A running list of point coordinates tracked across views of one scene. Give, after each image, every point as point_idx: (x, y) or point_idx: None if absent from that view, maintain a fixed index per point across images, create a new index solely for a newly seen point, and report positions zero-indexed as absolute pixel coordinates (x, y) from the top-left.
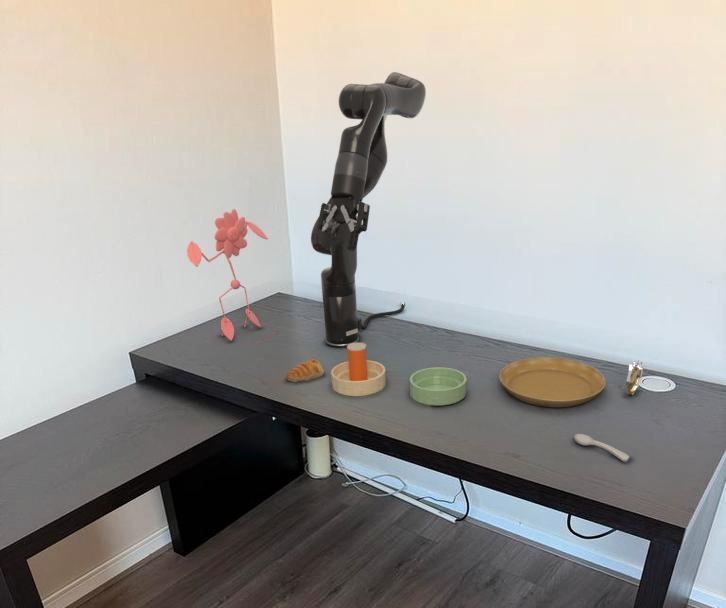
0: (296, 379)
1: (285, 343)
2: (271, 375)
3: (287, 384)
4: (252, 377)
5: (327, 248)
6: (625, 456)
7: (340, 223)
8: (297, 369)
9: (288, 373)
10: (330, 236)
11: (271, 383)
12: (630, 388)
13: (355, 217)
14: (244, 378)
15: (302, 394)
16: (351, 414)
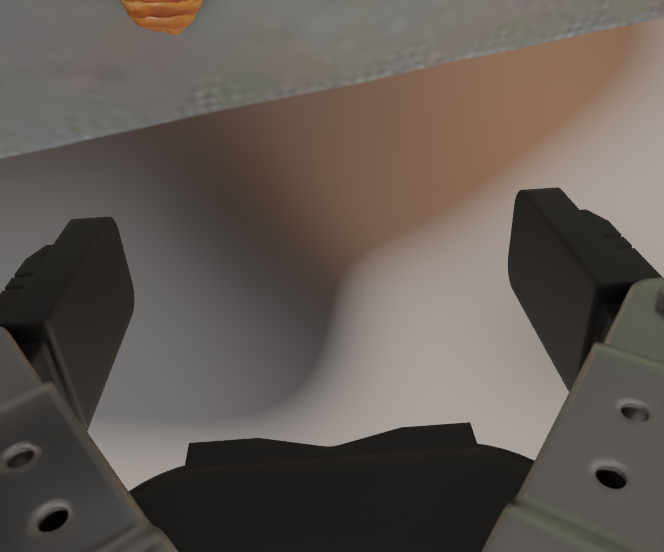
0: (195, 14)
1: None
2: (47, 24)
3: None
4: (24, 79)
5: (120, 252)
6: None
7: (218, 465)
8: (165, 6)
9: (148, 27)
10: (67, 324)
11: (122, 59)
12: None
13: (655, 521)
14: (17, 100)
15: (280, 33)
16: (511, 8)
